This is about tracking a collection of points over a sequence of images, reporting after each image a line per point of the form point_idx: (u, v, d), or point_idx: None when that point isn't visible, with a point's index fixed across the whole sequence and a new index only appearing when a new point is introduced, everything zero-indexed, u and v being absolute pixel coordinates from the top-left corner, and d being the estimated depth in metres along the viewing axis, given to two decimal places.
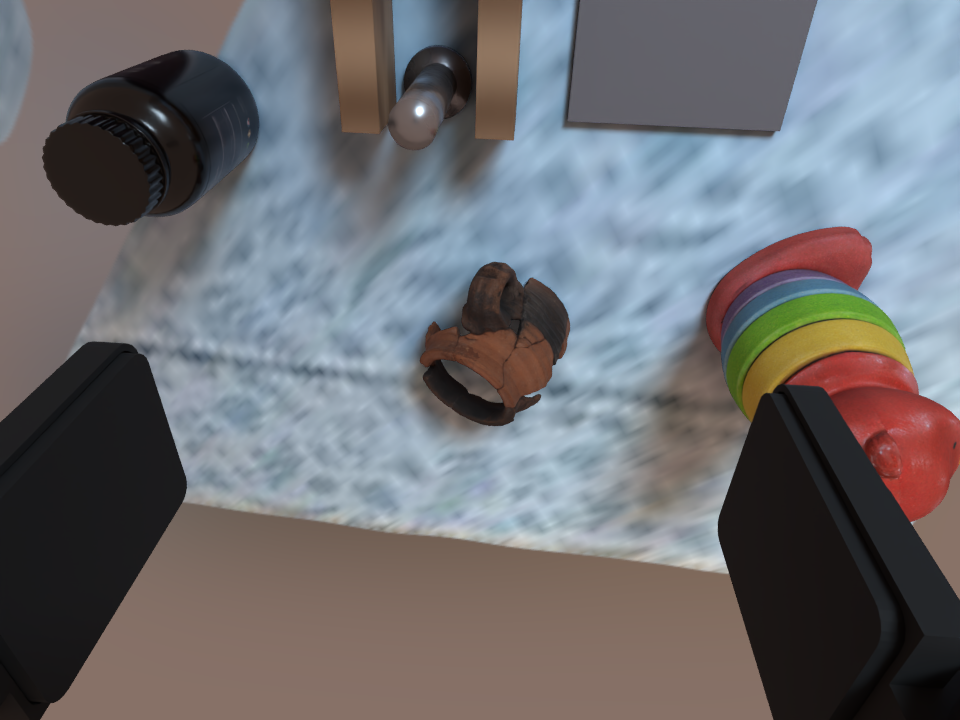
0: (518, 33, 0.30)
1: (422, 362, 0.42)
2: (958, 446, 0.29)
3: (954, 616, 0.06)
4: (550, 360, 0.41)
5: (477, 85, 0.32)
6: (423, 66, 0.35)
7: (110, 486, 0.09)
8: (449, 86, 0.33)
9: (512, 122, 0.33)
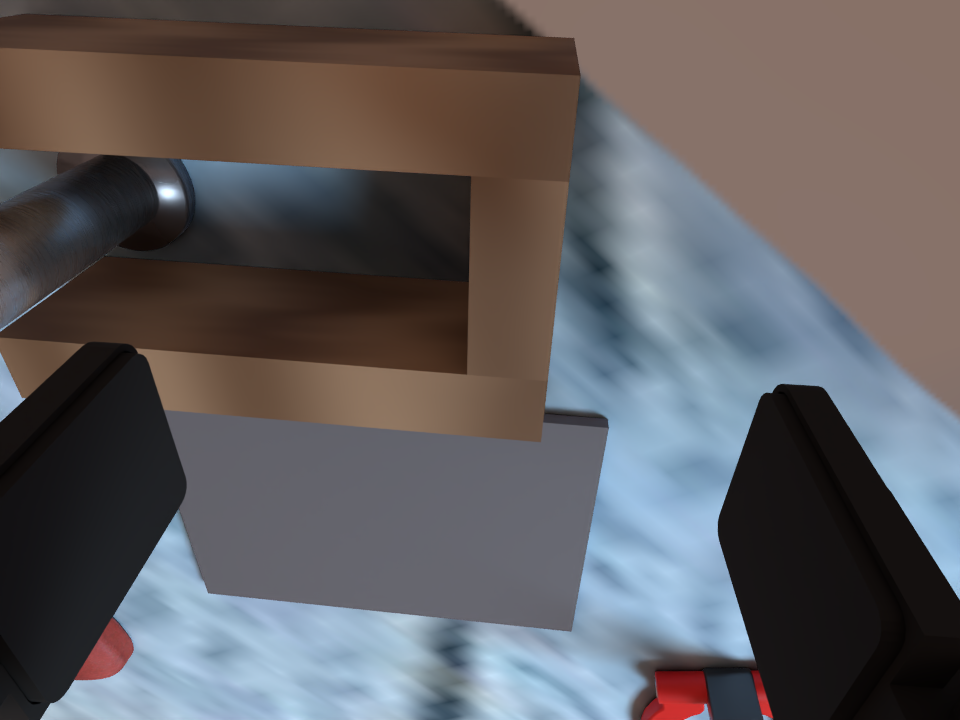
0: (193, 410, 0.17)
1: None
2: None
3: (954, 616, 0.06)
4: None
5: None
6: (143, 166, 0.18)
7: (110, 486, 0.09)
8: (89, 264, 0.17)
9: None
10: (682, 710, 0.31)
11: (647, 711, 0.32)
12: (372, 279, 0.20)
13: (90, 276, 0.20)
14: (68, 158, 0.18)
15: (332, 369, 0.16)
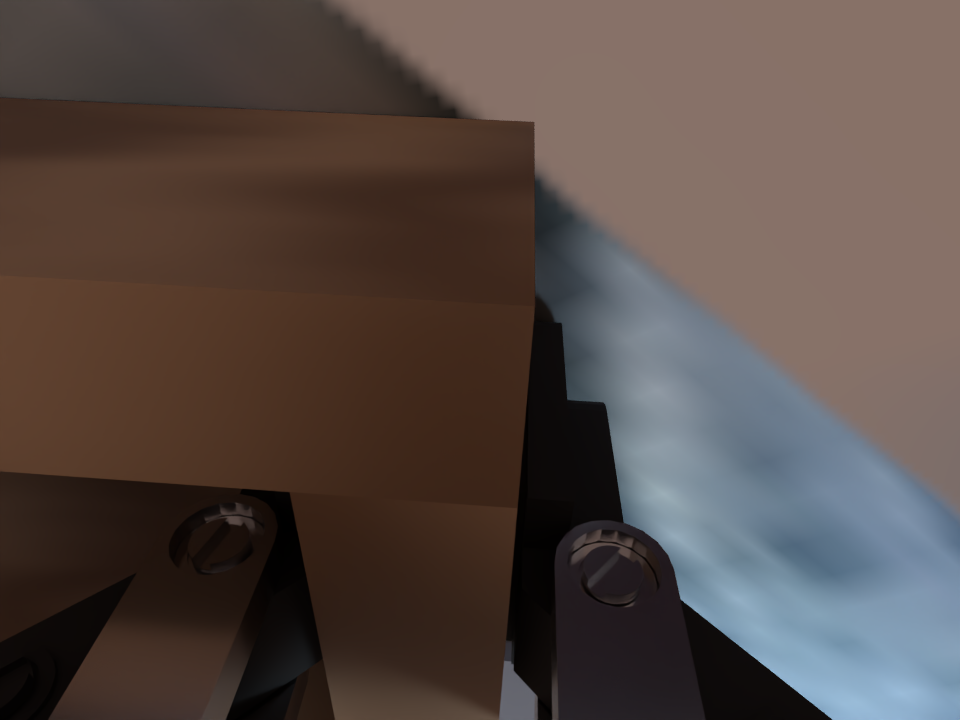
0: None
1: None
2: None
3: (563, 486, 0.07)
4: None
5: None
6: None
7: None
8: None
9: None
10: None
11: None
12: None
13: None
14: None
15: None
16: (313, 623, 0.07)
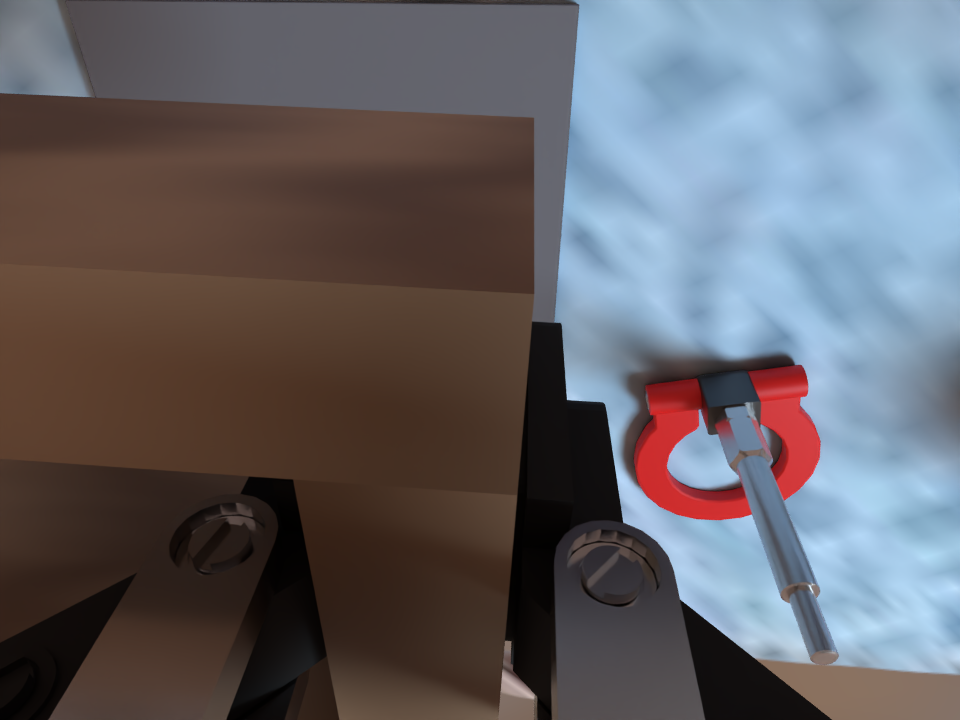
0: None
1: None
2: None
3: (563, 486, 0.07)
4: None
5: None
6: None
7: None
8: None
9: None
10: (676, 427, 0.29)
11: (639, 441, 0.30)
12: (226, 477, 0.13)
13: None
14: None
15: None
16: (314, 624, 0.07)
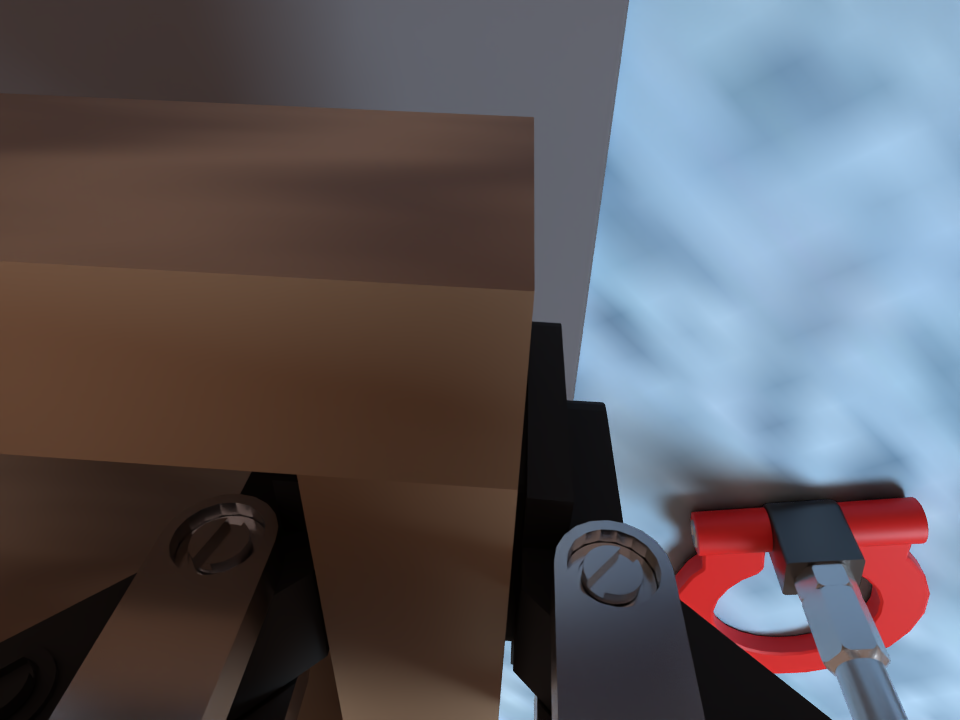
0: None
1: None
2: None
3: (563, 486, 0.07)
4: None
5: None
6: None
7: None
8: None
9: None
10: (731, 569, 0.21)
11: (678, 579, 0.22)
12: (228, 474, 0.13)
13: None
14: None
15: None
16: (313, 623, 0.07)
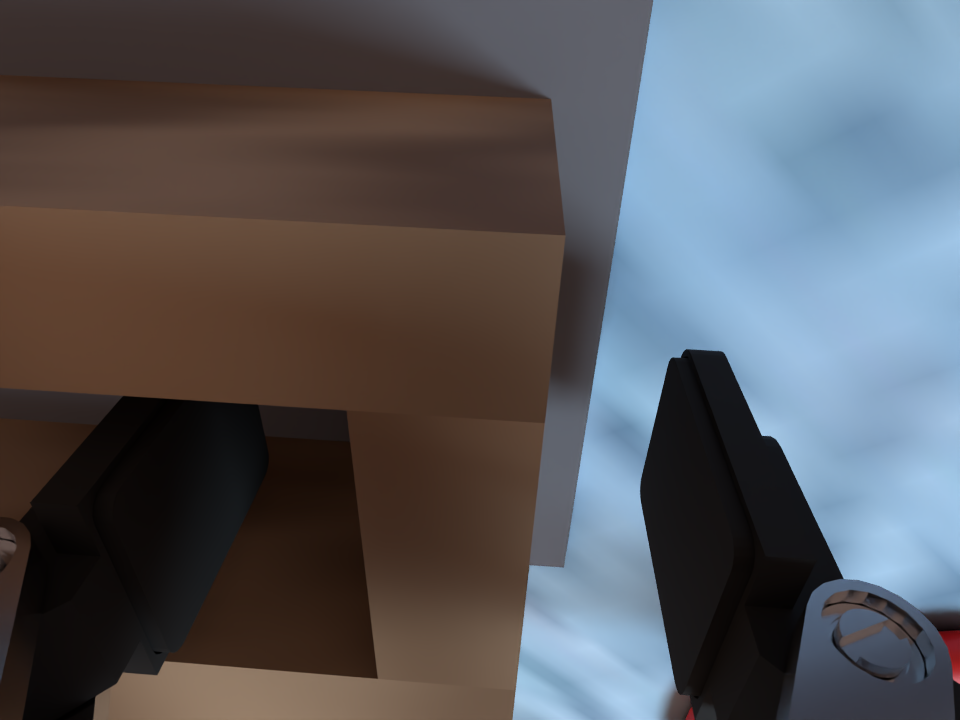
0: None
1: None
2: None
3: (796, 541, 0.06)
4: None
5: None
6: None
7: (216, 454, 0.09)
8: None
9: None
10: None
11: None
12: None
13: None
14: None
15: None
16: (87, 652, 0.07)
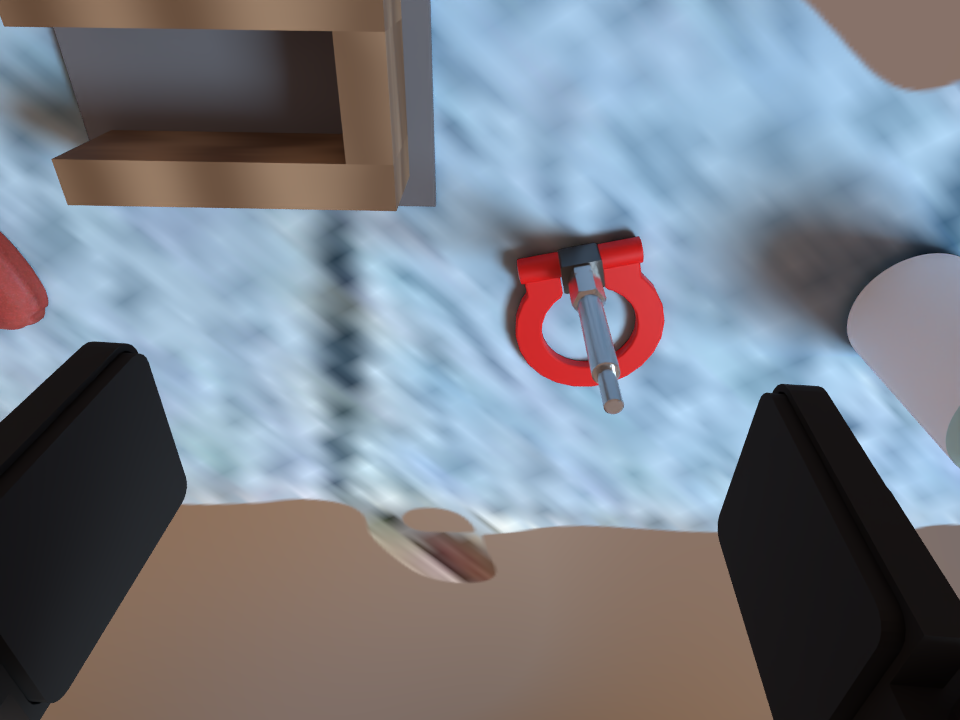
0: (179, 205, 0.28)
1: None
2: None
3: (954, 616, 0.06)
4: None
5: (112, 161, 0.27)
6: None
7: (110, 486, 0.09)
8: None
9: (87, 202, 0.28)
10: (544, 295, 0.35)
11: (517, 312, 0.36)
12: (292, 134, 0.31)
13: (104, 137, 0.30)
14: None
15: (265, 166, 0.27)
16: None
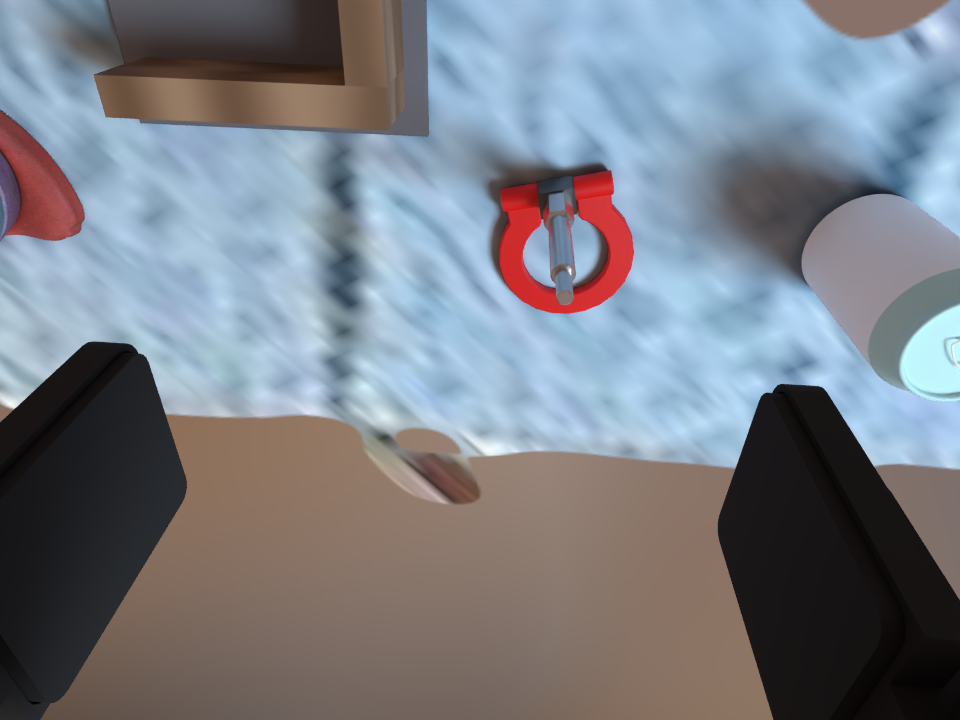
0: (201, 120, 0.32)
1: None
2: None
3: (954, 616, 0.06)
4: None
5: (144, 78, 0.31)
6: None
7: (110, 486, 0.09)
8: None
9: (122, 115, 0.32)
10: (524, 223, 0.39)
11: (501, 239, 0.40)
12: (302, 65, 0.35)
13: (138, 62, 0.34)
14: None
15: (275, 86, 0.31)
16: None
